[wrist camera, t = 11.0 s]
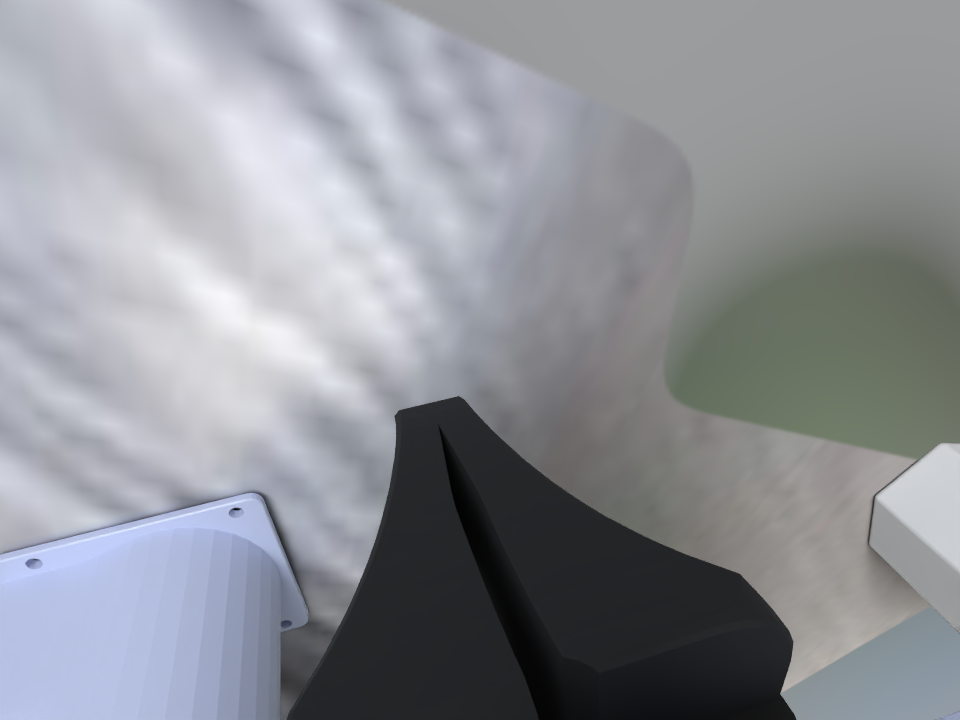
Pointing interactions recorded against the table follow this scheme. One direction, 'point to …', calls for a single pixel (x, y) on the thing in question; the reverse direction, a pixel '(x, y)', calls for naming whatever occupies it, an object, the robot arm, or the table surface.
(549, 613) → the robot arm
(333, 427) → the table surface
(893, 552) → the jar
